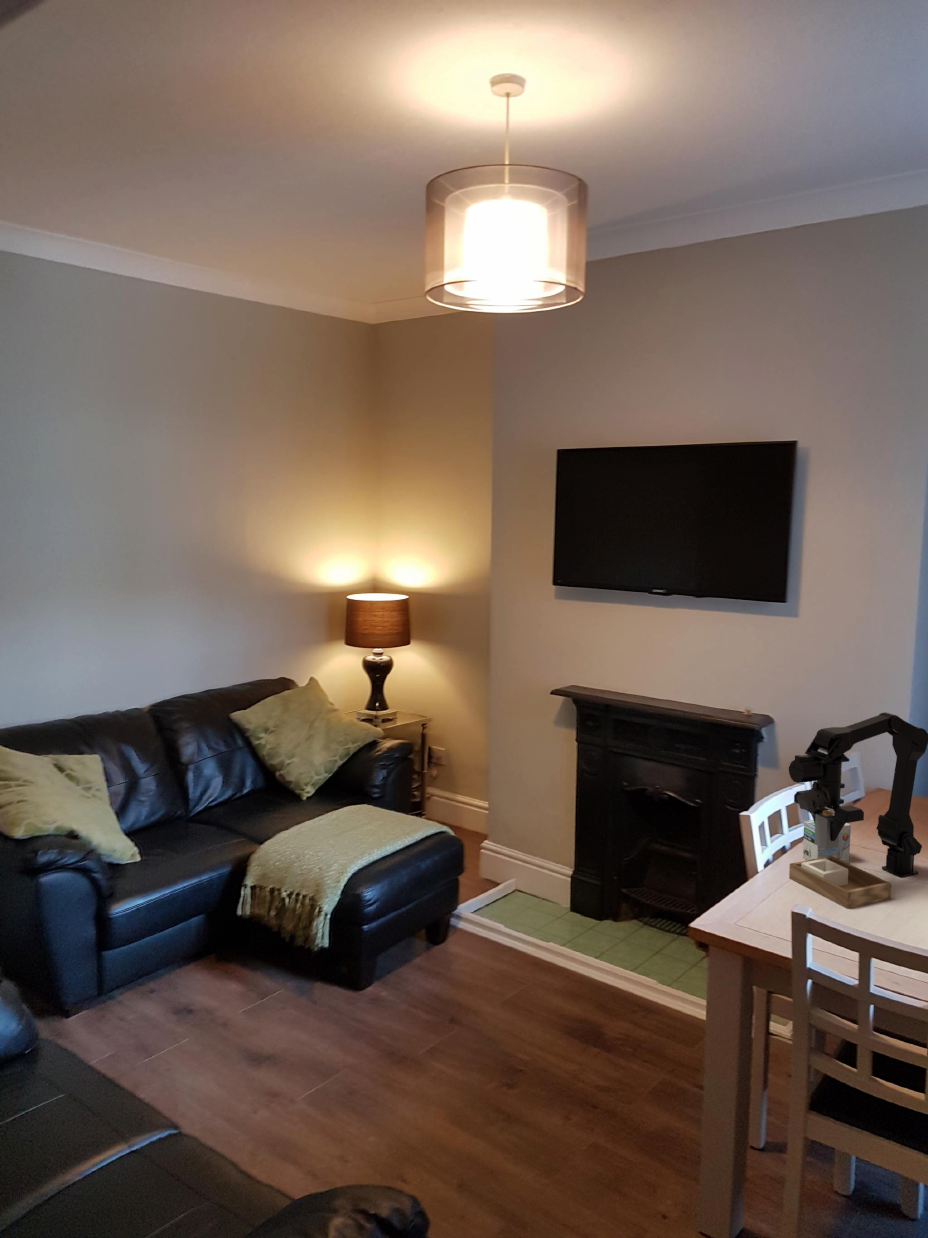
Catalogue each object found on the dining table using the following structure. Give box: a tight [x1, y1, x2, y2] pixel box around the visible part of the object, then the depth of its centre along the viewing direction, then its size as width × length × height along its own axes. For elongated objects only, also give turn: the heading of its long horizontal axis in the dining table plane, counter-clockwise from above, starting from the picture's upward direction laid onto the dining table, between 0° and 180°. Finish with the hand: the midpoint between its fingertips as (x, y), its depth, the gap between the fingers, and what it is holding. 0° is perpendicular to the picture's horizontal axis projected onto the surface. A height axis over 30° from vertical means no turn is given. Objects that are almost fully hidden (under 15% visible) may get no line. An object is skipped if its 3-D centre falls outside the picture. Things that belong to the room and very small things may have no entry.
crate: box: [788, 856, 892, 909], centre depth 233 cm, size 14×20×4 cm
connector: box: [814, 810, 839, 849], centre depth 234 cm, size 4×4×9 cm
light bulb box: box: [802, 819, 852, 864], centre depth 251 cm, size 11×7×11 cm, turn 105°
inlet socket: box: [801, 858, 848, 886], centre depth 236 cm, size 8×8×4 cm
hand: (826, 838), depth 235 cm, fingers closed on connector, 4 cm apart
